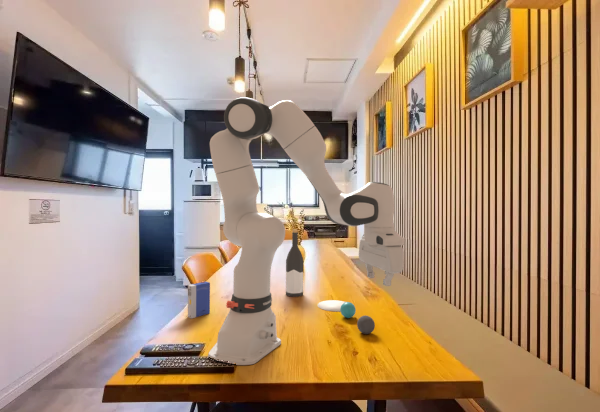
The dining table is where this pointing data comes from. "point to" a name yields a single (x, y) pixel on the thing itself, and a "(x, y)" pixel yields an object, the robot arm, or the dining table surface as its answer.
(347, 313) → the teal ball
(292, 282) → the wine bottle
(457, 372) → the dining table surface
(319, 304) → the cream mark
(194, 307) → the walkman
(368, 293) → the dining table surface
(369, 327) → the gray ball
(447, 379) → the dining table surface
